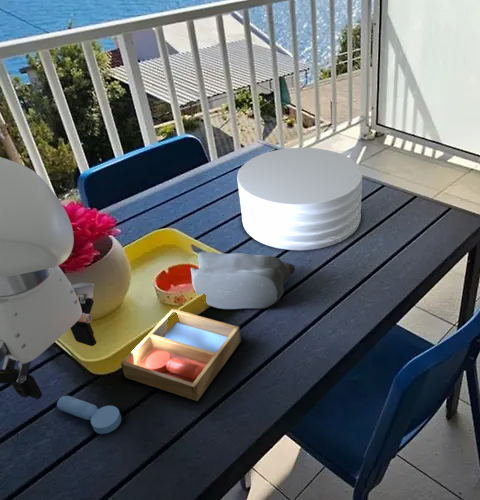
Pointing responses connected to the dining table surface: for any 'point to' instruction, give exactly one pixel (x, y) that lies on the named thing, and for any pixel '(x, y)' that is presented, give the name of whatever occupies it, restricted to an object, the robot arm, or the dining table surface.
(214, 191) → the dining table surface
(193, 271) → the rock
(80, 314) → the robot arm
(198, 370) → the red knob peg
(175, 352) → the caddy
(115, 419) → the blue disc-ended peg
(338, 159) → the plate stack
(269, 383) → the dining table surface
